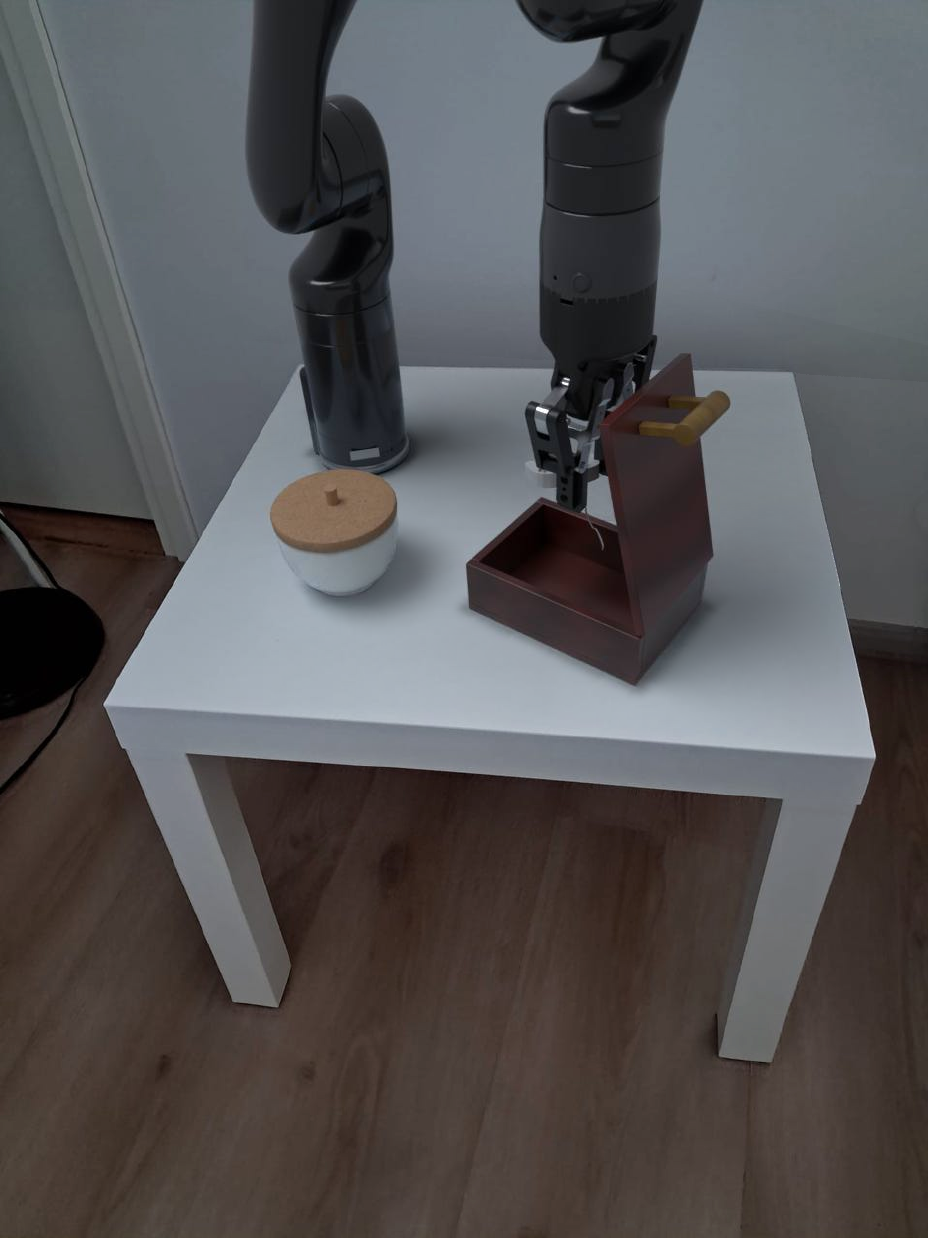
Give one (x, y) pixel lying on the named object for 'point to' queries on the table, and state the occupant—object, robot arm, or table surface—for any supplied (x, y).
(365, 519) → the trinket box
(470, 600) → the mahogany keepsake chest
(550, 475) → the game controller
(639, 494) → the cover
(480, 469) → the table surface
